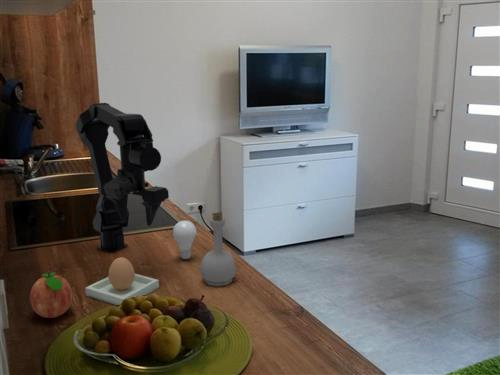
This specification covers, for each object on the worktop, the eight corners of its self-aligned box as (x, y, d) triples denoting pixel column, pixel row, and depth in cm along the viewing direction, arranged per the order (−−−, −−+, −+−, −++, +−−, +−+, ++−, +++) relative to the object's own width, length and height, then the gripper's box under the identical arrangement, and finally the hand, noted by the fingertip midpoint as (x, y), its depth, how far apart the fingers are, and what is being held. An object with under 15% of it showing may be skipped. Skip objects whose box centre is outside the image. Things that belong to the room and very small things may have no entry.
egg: (104, 292, 123) (101, 260, 121) (119, 282, 129) (117, 252, 127) (126, 296, 121) (123, 264, 119) (140, 285, 126) (138, 255, 125)
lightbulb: (193, 264, 141) (191, 225, 138) (170, 262, 142) (169, 223, 140) (200, 255, 147) (198, 218, 144) (178, 254, 148) (177, 217, 146)
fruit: (32, 328, 108) (27, 283, 106) (31, 308, 117) (26, 266, 114) (76, 319, 112) (72, 276, 109) (71, 301, 120) (67, 260, 118)
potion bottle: (210, 290, 125) (208, 218, 121) (196, 277, 133) (193, 208, 128) (242, 283, 129) (242, 213, 125) (227, 270, 137) (226, 204, 132)
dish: (85, 295, 123) (85, 287, 122) (122, 277, 133) (122, 270, 132) (123, 307, 117) (122, 299, 116) (159, 287, 127) (158, 280, 126)
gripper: (82, 166, 132) (87, 225, 136) (137, 174, 122) (141, 237, 126) (114, 159, 141) (118, 214, 145) (168, 165, 132) (171, 225, 135)
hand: (136, 222), depth 138 cm, fingers open, 9 cm apart
